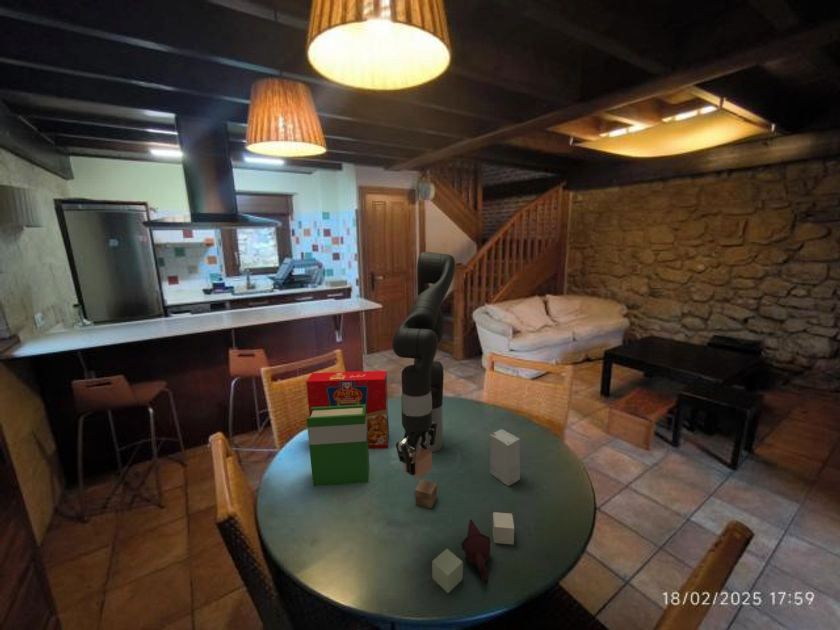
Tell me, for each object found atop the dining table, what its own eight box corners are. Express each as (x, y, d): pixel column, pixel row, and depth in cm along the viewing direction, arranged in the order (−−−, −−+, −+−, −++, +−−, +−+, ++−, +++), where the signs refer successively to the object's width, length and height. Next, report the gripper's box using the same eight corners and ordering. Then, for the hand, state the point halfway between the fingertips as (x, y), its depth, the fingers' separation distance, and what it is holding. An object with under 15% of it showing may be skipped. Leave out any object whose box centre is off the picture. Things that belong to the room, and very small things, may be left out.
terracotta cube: (404, 471, 92) (403, 454, 91) (416, 461, 96) (416, 445, 95) (420, 479, 89) (419, 461, 88) (431, 468, 93) (431, 451, 92)
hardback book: (313, 486, 116) (306, 418, 110) (317, 471, 123) (311, 407, 118) (368, 482, 117) (364, 415, 112) (369, 467, 125) (365, 404, 119)
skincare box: (520, 480, 117) (522, 439, 114) (507, 487, 114) (508, 445, 110) (501, 466, 124) (502, 427, 120) (488, 473, 121) (489, 433, 117)
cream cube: (493, 543, 94) (494, 526, 93) (492, 527, 99) (493, 512, 98) (513, 544, 93) (514, 528, 92) (511, 529, 98) (512, 513, 97)
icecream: (454, 513, 95) (464, 569, 81) (481, 506, 95) (496, 560, 81) (460, 532, 98) (470, 589, 83) (486, 525, 97) (501, 581, 83)
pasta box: (312, 451, 135) (306, 381, 128) (318, 439, 142) (312, 372, 136) (388, 448, 135) (385, 379, 129) (389, 436, 143) (386, 370, 137)
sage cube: (432, 578, 85) (432, 561, 84) (447, 565, 88) (446, 548, 87) (447, 593, 81) (447, 575, 80) (462, 579, 84) (462, 561, 83)
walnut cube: (415, 504, 108) (415, 490, 106) (421, 493, 112) (421, 479, 111) (431, 509, 106) (430, 494, 105) (436, 497, 110) (436, 483, 109)
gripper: (422, 393, 96) (423, 449, 100) (385, 414, 85) (388, 477, 89) (445, 400, 92) (445, 459, 95) (410, 424, 81) (411, 490, 85)
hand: (418, 467), depth 92 cm, fingers closed on terracotta cube, 5 cm apart
